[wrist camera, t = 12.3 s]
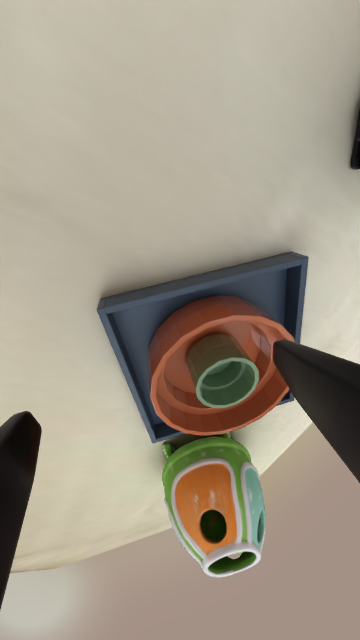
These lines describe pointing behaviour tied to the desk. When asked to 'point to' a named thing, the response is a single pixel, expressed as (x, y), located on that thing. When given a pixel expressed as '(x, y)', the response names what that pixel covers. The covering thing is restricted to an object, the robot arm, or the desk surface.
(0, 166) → the desk surface
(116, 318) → the tray
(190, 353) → the sage bowl
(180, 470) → the turtle holder
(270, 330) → the terracotta bowl
